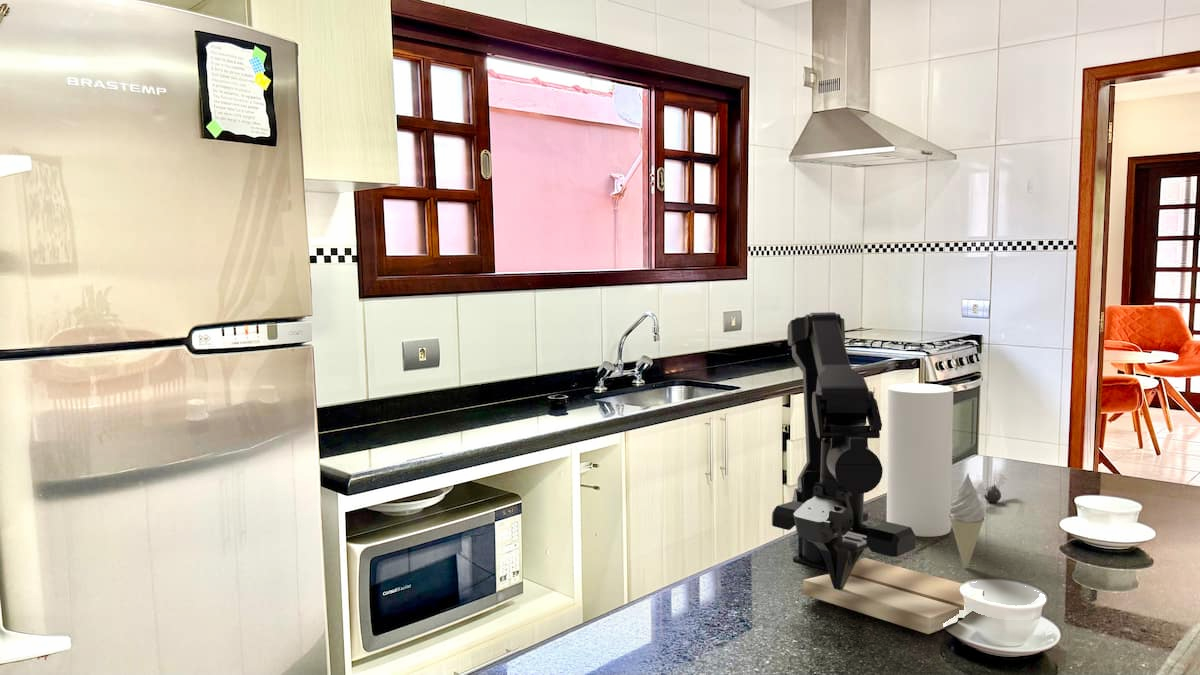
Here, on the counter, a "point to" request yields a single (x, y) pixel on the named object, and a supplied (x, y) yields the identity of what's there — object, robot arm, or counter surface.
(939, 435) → the tall pillar cylinder
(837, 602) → the oak plank
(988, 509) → the counter surface
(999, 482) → the bat toy
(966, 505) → the ice cream cone
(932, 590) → the floor strip
